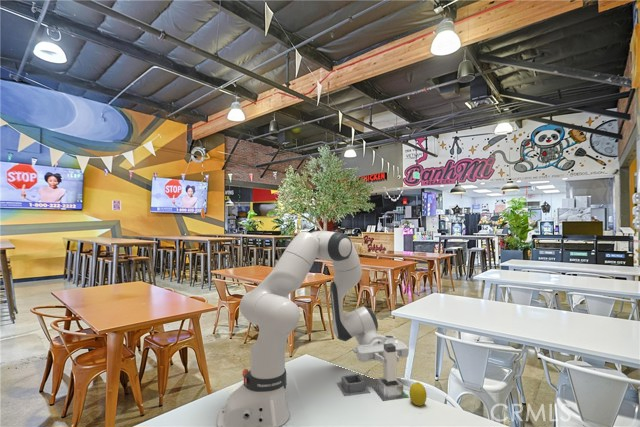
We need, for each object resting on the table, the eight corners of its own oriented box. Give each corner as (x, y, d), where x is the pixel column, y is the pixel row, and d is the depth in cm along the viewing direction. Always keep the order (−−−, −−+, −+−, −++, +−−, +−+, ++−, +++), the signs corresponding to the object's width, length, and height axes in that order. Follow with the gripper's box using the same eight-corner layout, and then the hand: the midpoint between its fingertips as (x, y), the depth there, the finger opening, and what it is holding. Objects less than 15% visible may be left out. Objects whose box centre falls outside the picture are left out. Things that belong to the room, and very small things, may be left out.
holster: (344, 399, 111) (344, 387, 112) (336, 385, 121) (336, 374, 121) (370, 395, 114) (370, 384, 114) (360, 382, 123) (360, 371, 124)
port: (382, 404, 108) (382, 390, 109) (371, 389, 118) (371, 377, 118) (409, 400, 111) (409, 387, 111) (396, 386, 120) (396, 374, 121)
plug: (387, 381, 113) (387, 347, 113) (383, 376, 116) (382, 343, 117) (396, 380, 113) (396, 346, 114) (392, 375, 117) (391, 342, 117)
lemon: (427, 412, 104) (427, 387, 104) (410, 410, 105) (409, 385, 105) (425, 402, 109) (425, 379, 109) (408, 401, 110) (408, 377, 111)
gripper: (351, 340, 125) (363, 354, 112) (398, 335, 130) (415, 348, 117) (351, 356, 125) (363, 372, 112) (398, 351, 130) (416, 365, 116)
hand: (390, 360), depth 114 cm, fingers closed on plug, 4 cm apart
